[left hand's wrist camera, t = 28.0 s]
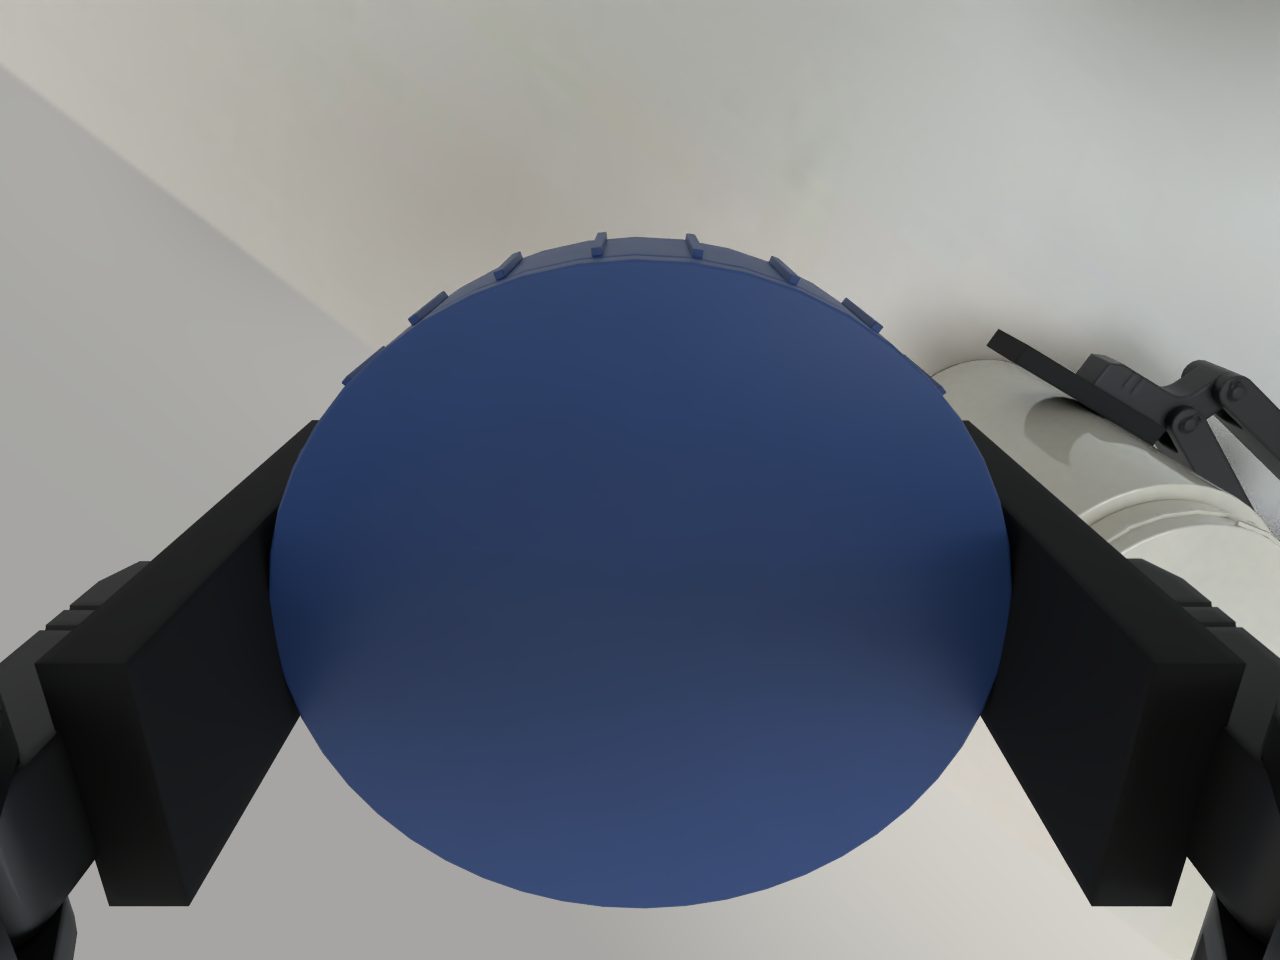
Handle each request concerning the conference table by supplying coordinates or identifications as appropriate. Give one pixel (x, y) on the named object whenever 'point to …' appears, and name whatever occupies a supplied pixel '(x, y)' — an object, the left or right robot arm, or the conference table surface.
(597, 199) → the conference table surface
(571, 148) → the conference table surface
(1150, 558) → the jar
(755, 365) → the lid
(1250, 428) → the right robot arm
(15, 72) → the conference table surface
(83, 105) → the conference table surface
